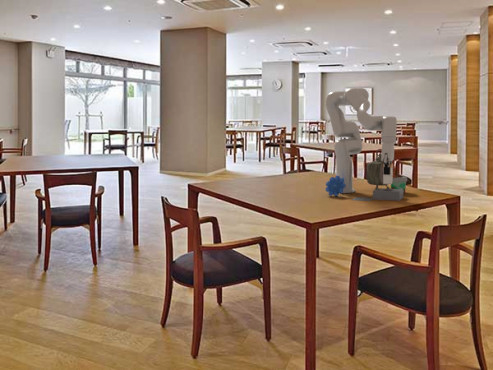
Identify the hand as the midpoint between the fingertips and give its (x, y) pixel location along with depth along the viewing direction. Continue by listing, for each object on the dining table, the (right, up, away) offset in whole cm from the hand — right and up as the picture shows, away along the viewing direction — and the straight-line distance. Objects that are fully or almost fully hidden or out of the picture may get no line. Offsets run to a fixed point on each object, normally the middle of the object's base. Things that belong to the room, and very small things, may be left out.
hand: (387, 173), depth 263 cm
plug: (0, -5, +1) cm, 5 cm away
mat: (-13, -14, +2) cm, 19 cm away
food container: (+12, -12, +16) cm, 23 cm away
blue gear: (-25, -13, +18) cm, 33 cm away
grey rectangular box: (+1, -14, +2) cm, 14 cm away
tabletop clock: (+4, -10, +33) cm, 34 cm away
